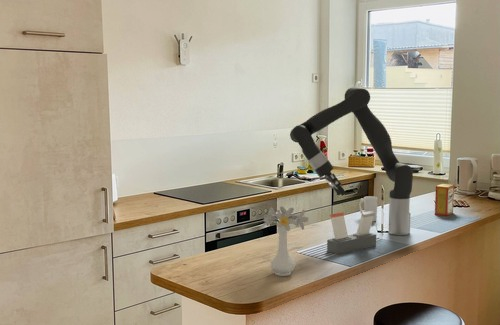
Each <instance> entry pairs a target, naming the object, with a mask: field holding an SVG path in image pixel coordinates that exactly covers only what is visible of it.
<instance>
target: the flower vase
mask: <svg viewBox="0 0 500 325" xmlns="http://www.w3.org/2000/svg"><path fill="white" fill-rule="evenodd" d="M294 210H295V208H294V207H293V206H292V207H289V208H288V209H287V210H286V208H285V207H283V206H281V205H280V207H279V209H277V210H276V211H275V209H274V208H273V207H272V206H271V207H270V208H269V209H268V212H267V214H264V215H263V216H262V217H263V222H264V223H263V224H262V225H261V228H263V227H264V226H267V227H269V226H271V224H273V223H275V224H276V227H277V231H278V245H277V246H278V247H277V252H276V254H275V256H274V257H273V258H272V259H271V261H270V264H269V265H270V268H271V270H272V271H273V273H274V274H275V276H278V277H287V276H290V275H291V274H292V271H294V270H295V268H296V262H295V260H294V259H293V257H291V255H290V253H289V250H288V238H287V236H288V232H290V231H291V226H290V225H292V224H293V225H295V227H296V228H297V227H300V229H301V230H305V224H304V223H306V222H308V221H309V217H308V216H305V214H306V213H305V212H306V210H305V209H302V210H301V211H300V213H298V212H297V213H296V214H293V213H294Z"/></svg>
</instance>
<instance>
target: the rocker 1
mask: <svg viewBox="0 0 500 325" xmlns="http://www.w3.org/2000/svg"><path fill="white" fill-rule="evenodd" d="M329 216H330V221H331V225H332V230H333V235H334V238H335V239H341V238H346V237H348V235H349V234H348V230H347V225H346V220H345V214H344V212H338V213H337V212H336V213H330V214H329Z"/></svg>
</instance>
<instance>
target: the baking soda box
mask: <svg viewBox="0 0 500 325" xmlns="http://www.w3.org/2000/svg"><path fill="white" fill-rule="evenodd" d="M454 195H455V185H454V184H448V183H441V184H438V185H435V198H434V199H435V200H434V201H435V202H434V215H435V216H442V217H447V216H450V215H453V213H454V198H455V197H454Z"/></svg>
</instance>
